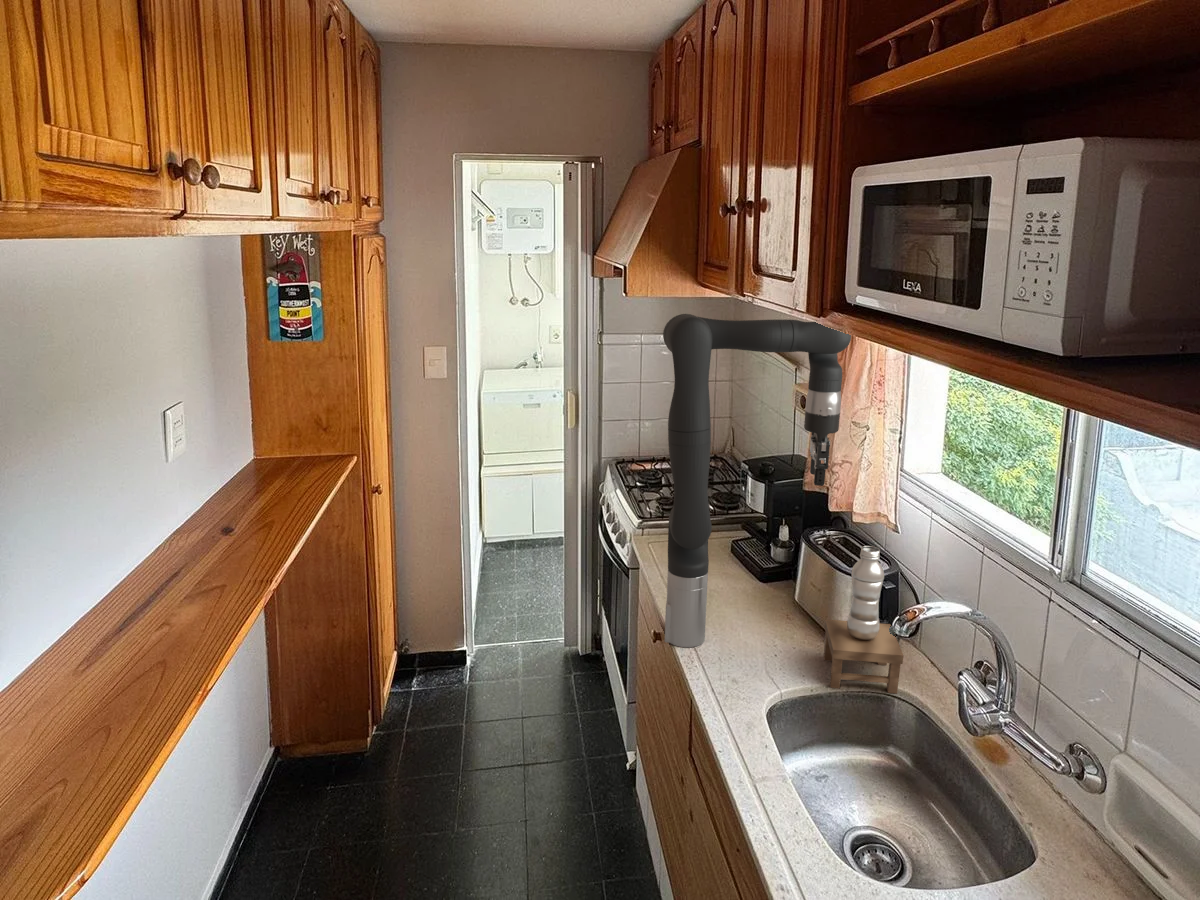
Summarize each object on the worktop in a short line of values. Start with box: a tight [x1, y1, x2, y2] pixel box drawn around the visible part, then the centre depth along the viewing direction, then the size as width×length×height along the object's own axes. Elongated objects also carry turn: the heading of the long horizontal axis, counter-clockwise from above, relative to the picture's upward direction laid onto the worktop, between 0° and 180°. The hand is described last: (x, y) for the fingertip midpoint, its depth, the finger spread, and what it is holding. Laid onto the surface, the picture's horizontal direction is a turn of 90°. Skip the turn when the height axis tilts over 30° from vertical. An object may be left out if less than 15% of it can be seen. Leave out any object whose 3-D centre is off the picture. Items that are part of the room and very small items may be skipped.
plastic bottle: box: [846, 545, 885, 640], centre depth 175 cm, size 6×7×20 cm
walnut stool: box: [823, 618, 904, 694], centre depth 178 cm, size 14×14×9 cm
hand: (816, 479), depth 188 cm, fingers open, 8 cm apart
